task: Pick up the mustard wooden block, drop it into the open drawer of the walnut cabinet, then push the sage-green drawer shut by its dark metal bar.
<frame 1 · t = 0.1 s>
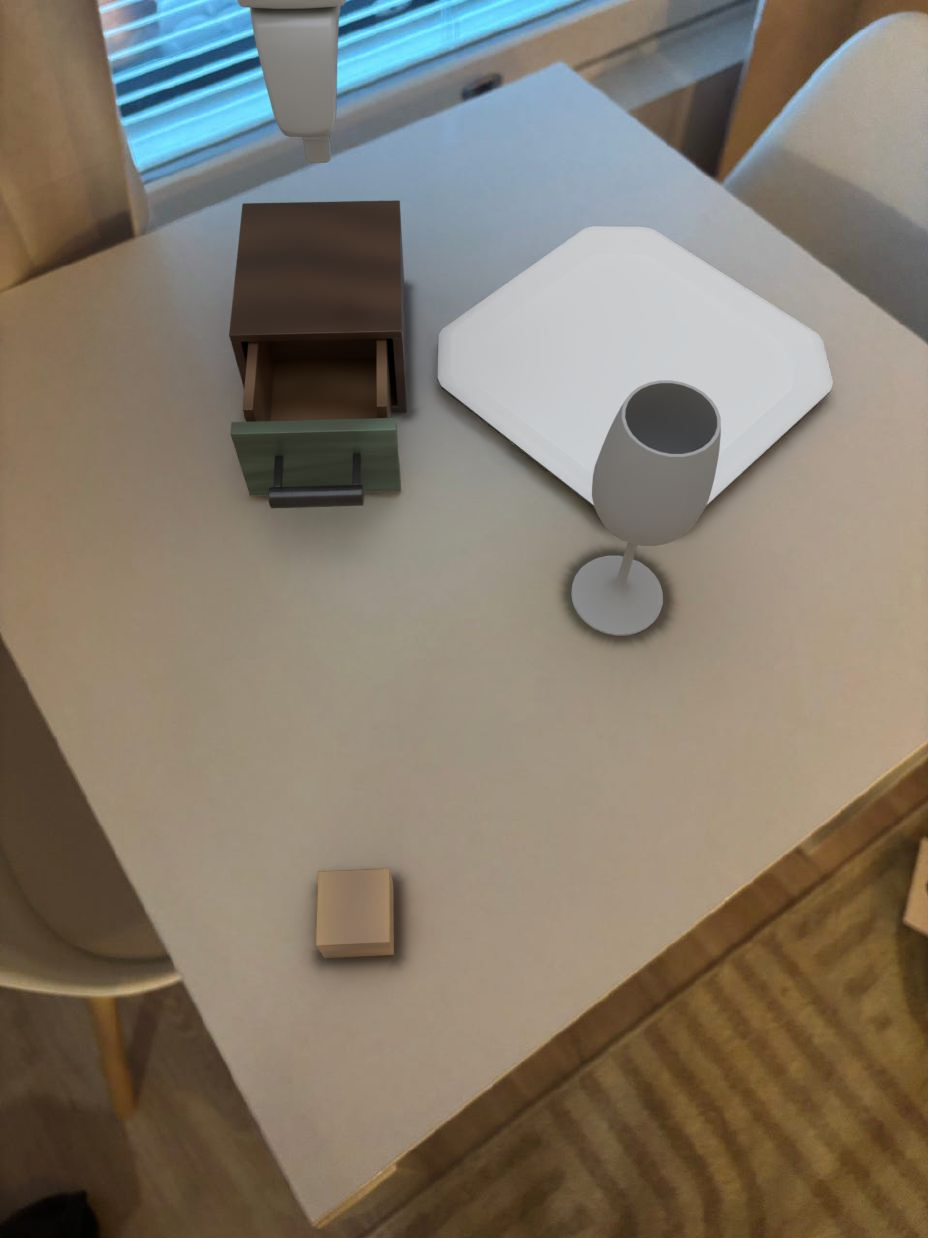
hand: (321, 115, 70), 20 cm above the table, tool pointing down, fingers open, 8 cm apart
block: (359, 920, 62), on the table
plate: (629, 375, 85), on the table
drawer: (321, 415, 76), point 5 cm above the table, slide at 8.0 cm
cabinet: (331, 348, 86), on the table
wineglass: (616, 596, 74), on the table
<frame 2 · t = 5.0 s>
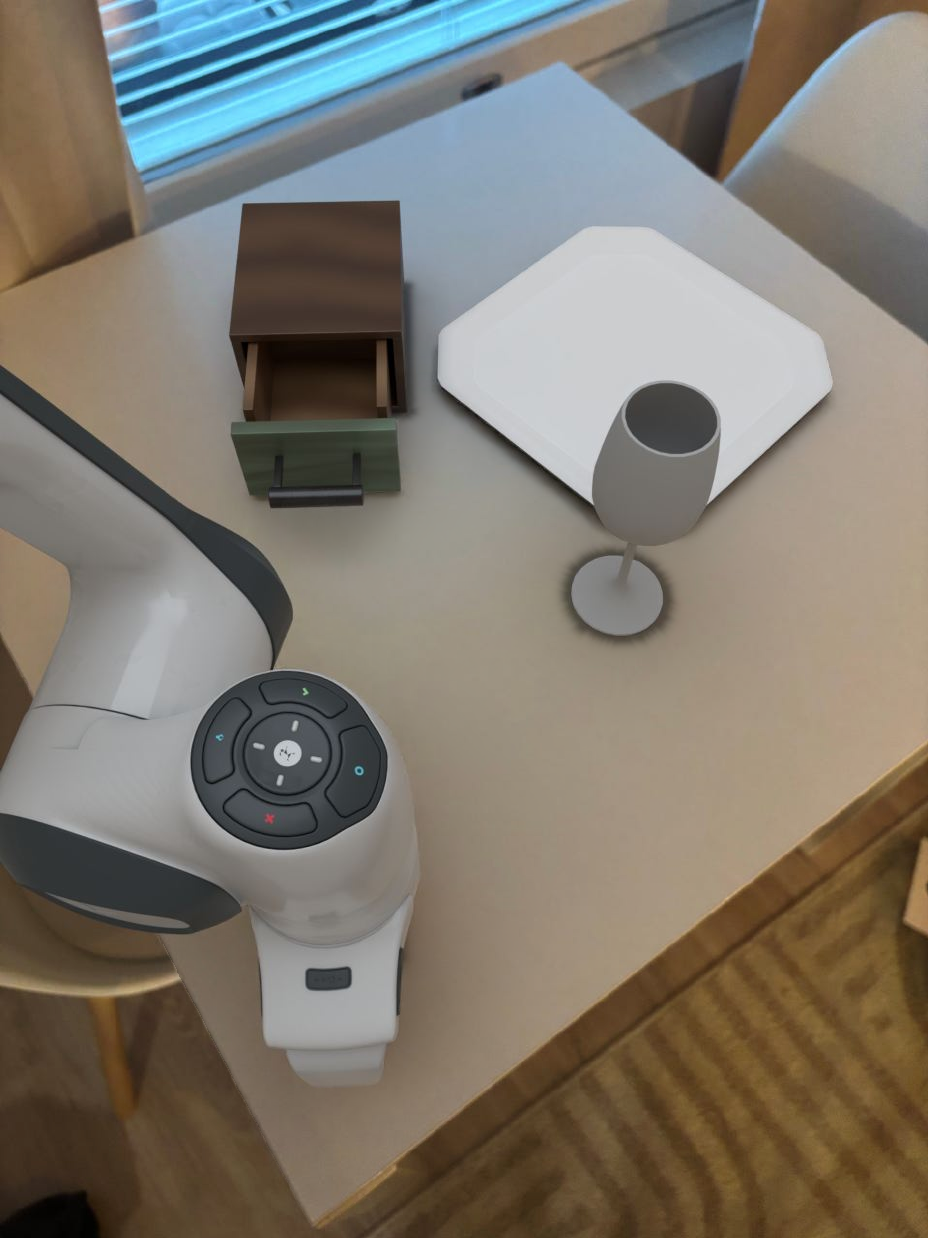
hand: (357, 916, 61), 2 cm above the table, tool pointing down, fingers closed on block, 4 cm apart
block: (359, 920, 62), on the table, touching gripper
everything else where it was.
when the fingers open (9 cm above the table, at t = 12.2 s): block drops 2 cm, point 5 cm above the table.
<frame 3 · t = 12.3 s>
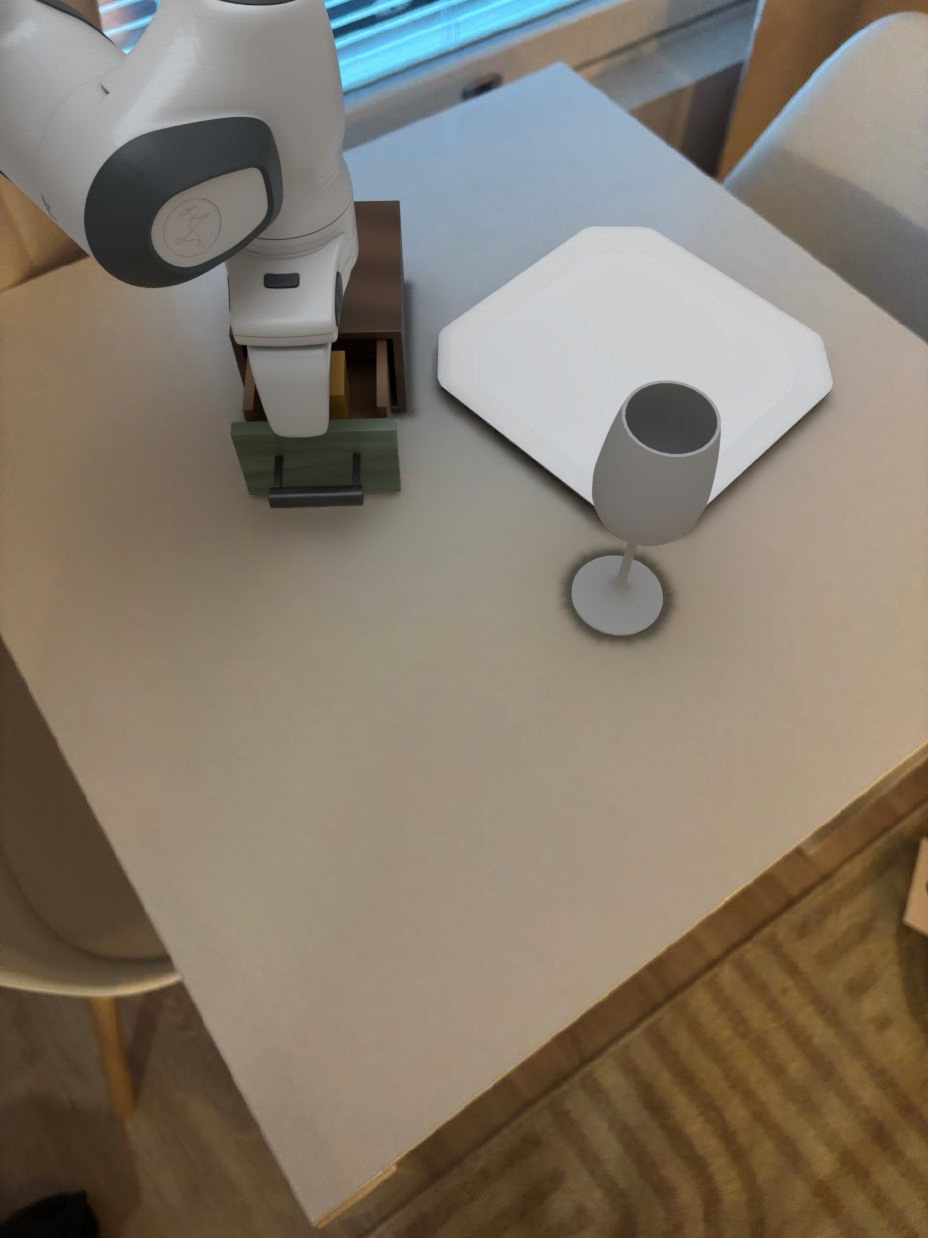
hand: (315, 380, 73), 9 cm above the table, tool pointing down, fingers open, 5 cm apart
block: (321, 411, 76), point 5 cm above the table
drawer: (321, 415, 76), point 5 cm above the table, slide at 8.0 cm, touching gripper
everything else where it was.
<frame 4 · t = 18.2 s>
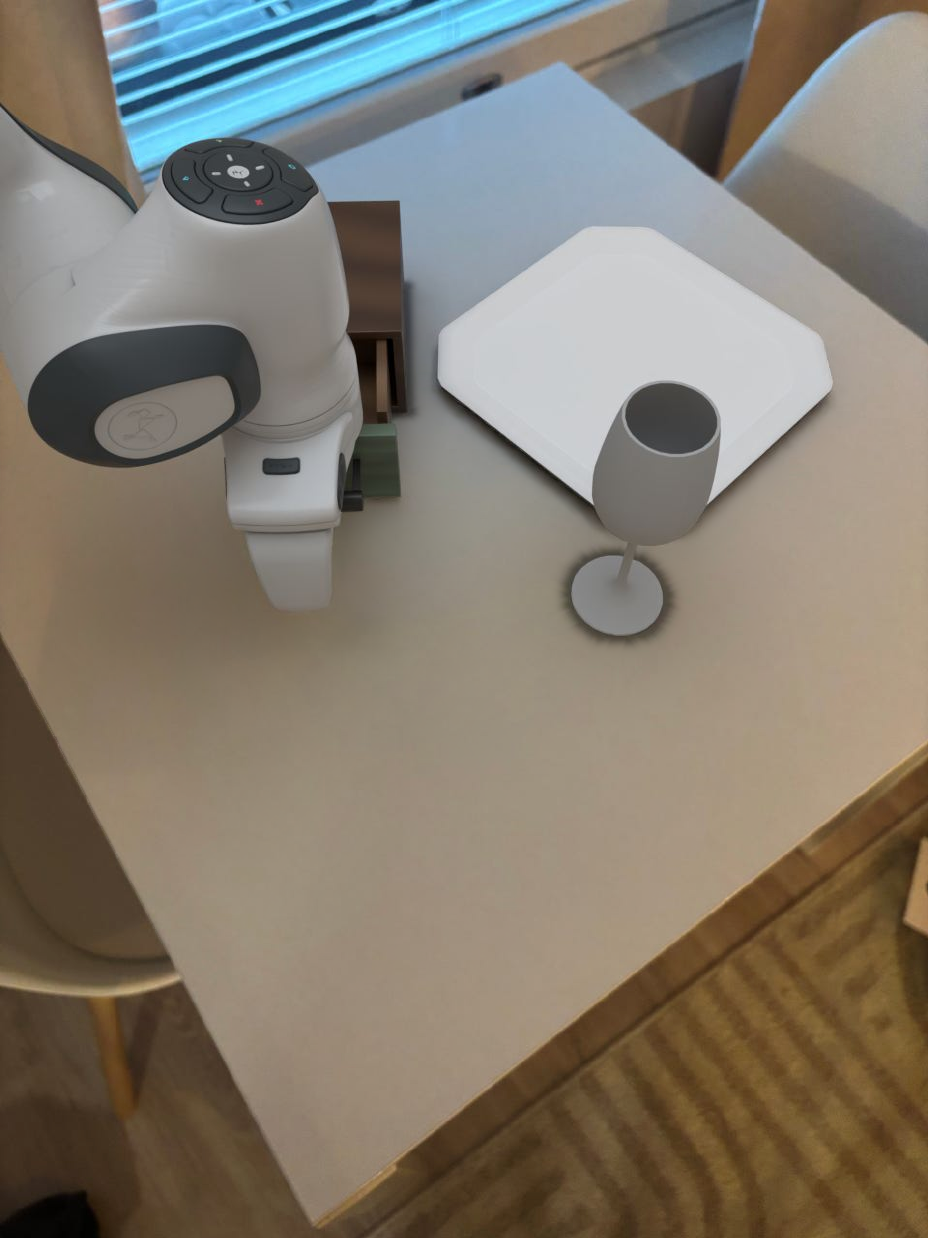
hand: (317, 528, 70), 6 cm above the table, tool pointing down, fingers closed
block: (325, 440, 79), point 2 cm above the table, touching drawer
drawer: (321, 420, 76), point 5 cm above the table, slide at 8.5 cm, touching block
everything else where it was.
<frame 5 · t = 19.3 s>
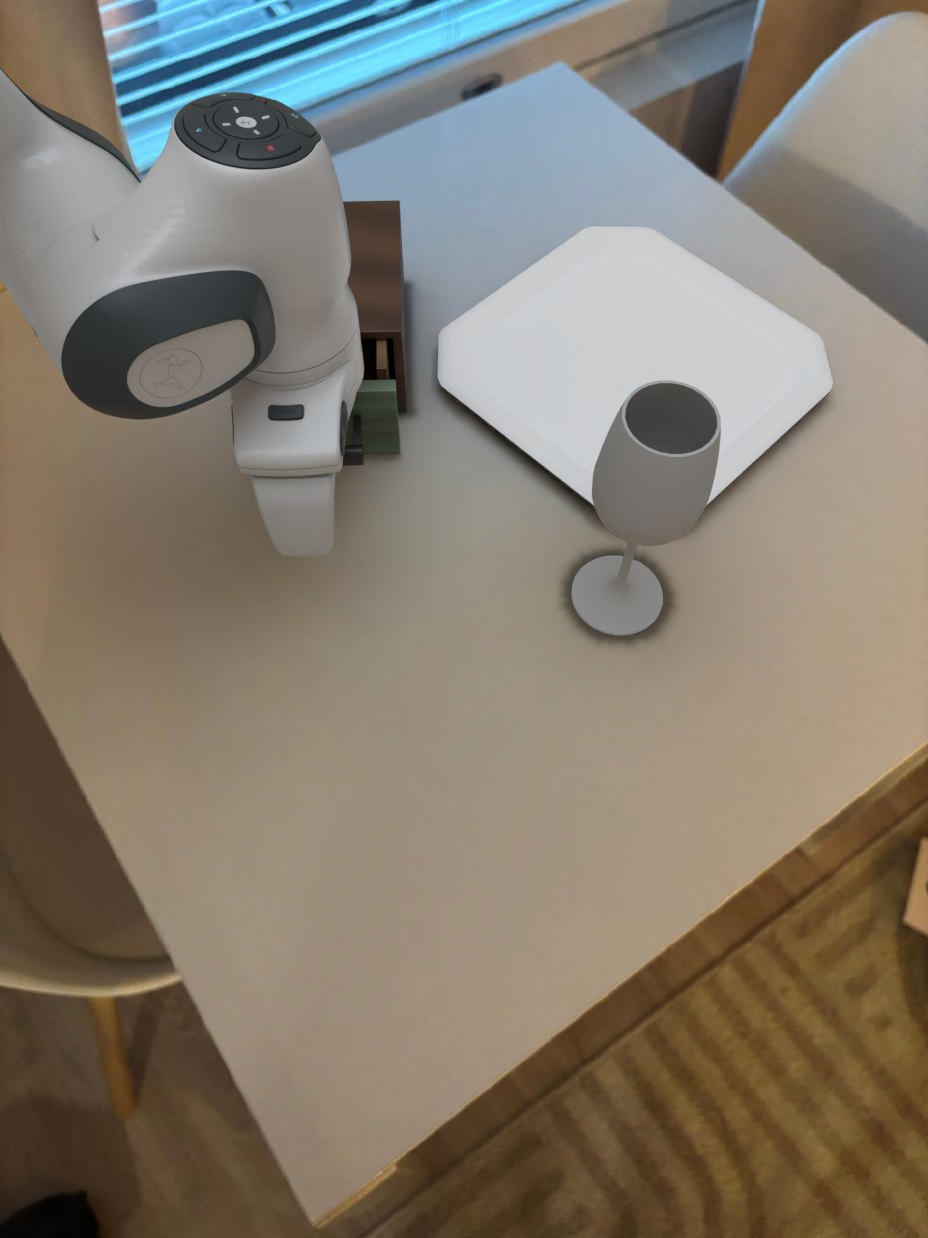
hand: (320, 484, 73), 5 cm above the table, tool pointing down, fingers closed
block: (327, 400, 81), point 2 cm above the table, touching drawer
drawer: (322, 379, 78), point 5 cm above the table, slide at 4.1 cm, touching block, gripper
everything else where it was.
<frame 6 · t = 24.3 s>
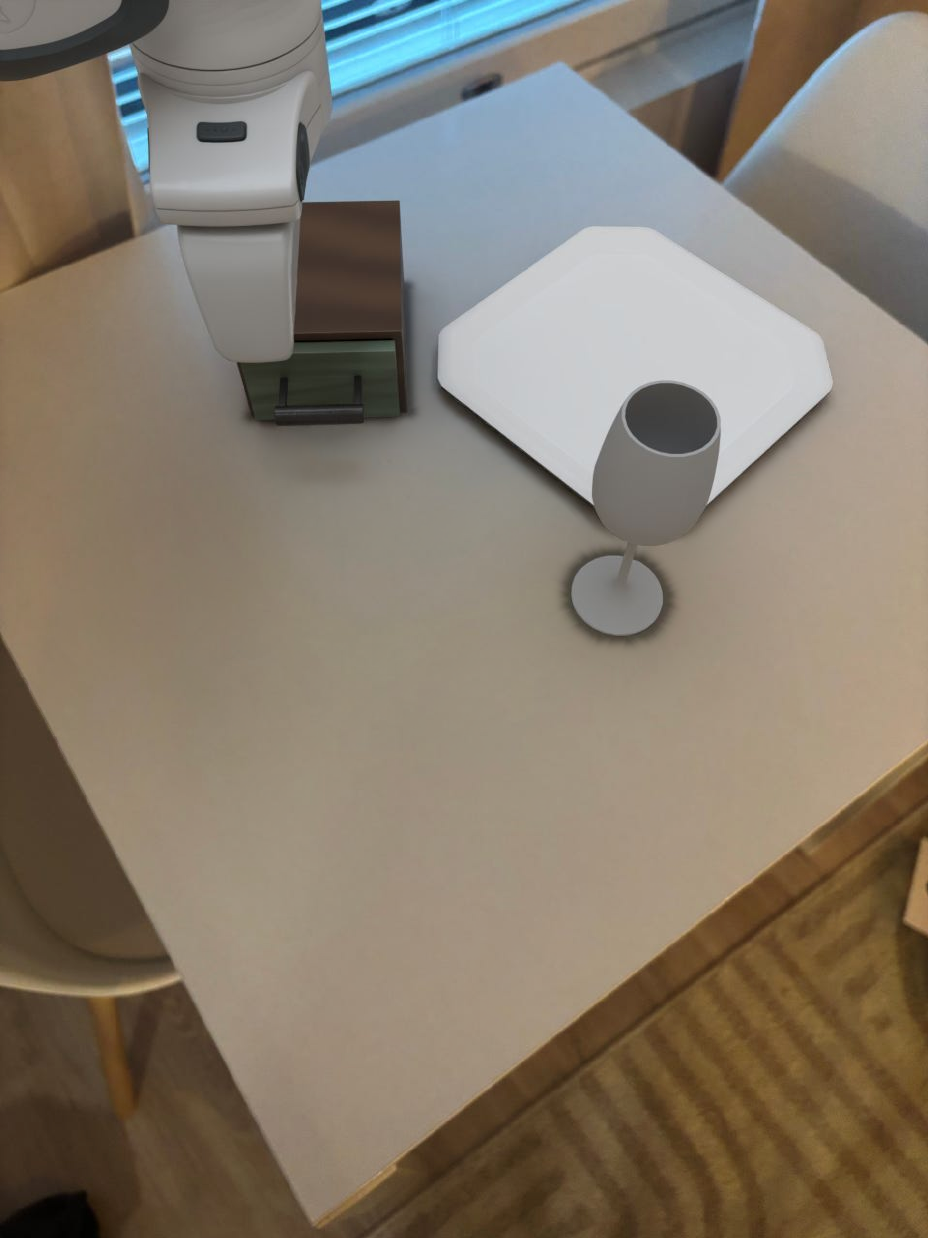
hand: (282, 301, 57), 23 cm above the table, tool pointing down, fingers closed
block: (328, 363, 83), point 2 cm above the table, touching drawer
drawer: (324, 342, 80), point 5 cm above the table, slide at 0.0 cm, touching block, cabinet
everything else where it was.
at the end: block inside the target area in the cabinet (3.7 cm from its centre), point 2.0 cm above the cabinet's base; drawer slide at 0.0 cm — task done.
